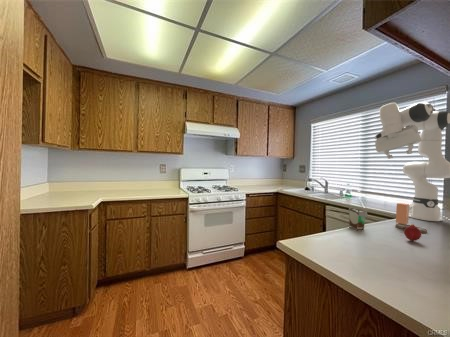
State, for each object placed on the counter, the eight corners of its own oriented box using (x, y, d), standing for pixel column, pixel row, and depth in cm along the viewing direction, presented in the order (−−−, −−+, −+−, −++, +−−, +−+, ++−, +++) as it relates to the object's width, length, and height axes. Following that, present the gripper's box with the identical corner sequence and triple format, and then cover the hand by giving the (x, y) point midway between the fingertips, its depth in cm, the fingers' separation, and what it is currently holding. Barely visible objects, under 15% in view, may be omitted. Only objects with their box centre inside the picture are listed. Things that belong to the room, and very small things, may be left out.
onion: (424, 244, 89) (425, 226, 89) (409, 242, 90) (410, 225, 90) (414, 239, 95) (415, 222, 95) (400, 238, 96) (401, 221, 96)
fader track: (395, 227, 115) (395, 223, 115) (398, 225, 118) (398, 222, 117) (424, 233, 105) (424, 229, 105) (426, 232, 108) (427, 228, 108)
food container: (371, 232, 104) (372, 213, 103) (358, 231, 104) (359, 212, 104) (359, 225, 116) (360, 208, 115) (347, 224, 117) (348, 207, 116)
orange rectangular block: (395, 224, 115) (396, 203, 115) (398, 223, 117) (399, 202, 117) (405, 226, 111) (406, 204, 111) (408, 225, 114) (409, 204, 113)
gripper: (420, 124, 101) (427, 150, 98) (379, 138, 120) (384, 160, 117) (411, 123, 99) (418, 150, 96) (371, 137, 118) (376, 160, 116)
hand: (399, 156), depth 107 cm, fingers open, 8 cm apart
